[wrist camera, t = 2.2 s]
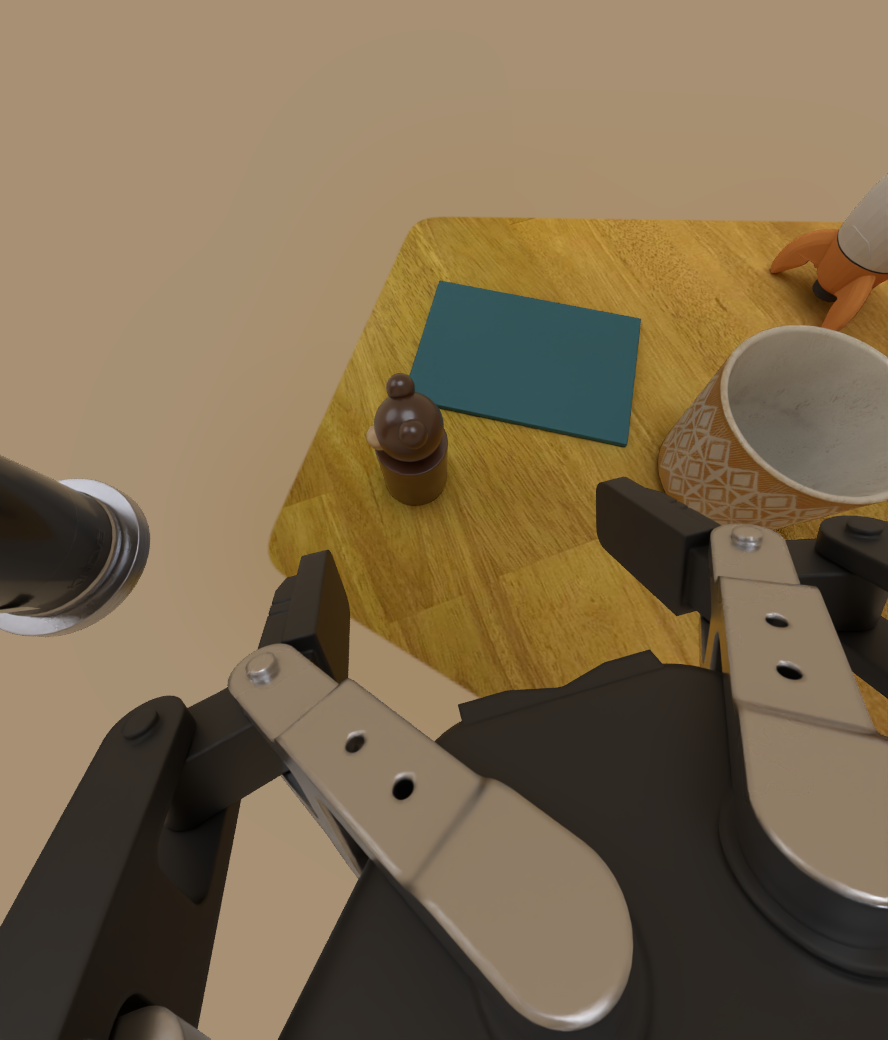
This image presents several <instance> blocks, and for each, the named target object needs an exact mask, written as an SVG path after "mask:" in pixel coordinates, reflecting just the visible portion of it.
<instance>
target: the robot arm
mask: <svg viewBox="0 0 888 1040" xmlns="http://www.w3.org/2000/svg"><path fill="white" fill-rule="evenodd" d="M596 528H597V535H598V539H599V541H600V543H601V545H602V547H603V548H604V549H605V550H606V551H607V552H608V553H609V554H610V555H611V556H612V557H614V558H615V559H616V560H617V561H618V562H619V563H620V564H621V565H622V566H623V567H624V568H625V569H626V570H628V571H629V572H630V573H631V574H632V575H633V576H634V577H635V578H636V579H637V580H638V581H639V582H640V583H642V584H643V585H644V586H645V587H646V588H647V589H648V590H649V591H650V592H651V593H652V594H653V595H654V596H656V597H657V598H658V599H659V600H660V601H661V602H662V603H663V604H664V605H665V606H666V607H667V608H668V609H670V610H671V611H672V612H673V613H674V614H675V615H676V616H679V615H683V614H686V613H690V612H693V611H698V612H699V613H700V618H699V654H700V667H697V666H691V665H683V664H662V663H661V662H660V661H659V659H658V658H657V657H656V656H655V655H654V654H653V653H652V652H651V650H646V651H643V652H639V653H636V654H632V655H629V656H625V657H622V658H619V659H615V660H612V661H608V662H605V663H603V664H601V665H599V666H597V667H596V668H594V669H592V670H591V671H589V672H587V673H585V674H584V675H582V676H580V677H579V678H577V679H575V680H574V681H572V682H570V683H568V684H567V685H565V686H562V687H558V688H543V689H526V690H510V691H504V692H500V693H497V694H493V695H490V696H486V697H483V698H479V699H476V700H473V701H469V702H465V703H462V704H459V705H458V707H459V711H460V715H461V719H462V721H461V722H459V723H457V724H456V725H454V726H453V727H451V728H450V729H448V730H447V731H446V732H444V733H443V734H442V735H441V736H440V737H439V738H438V739H437V740H436V741H433V740H431V739H430V738H429V737H427V736H426V735H425V734H423V733H422V732H421V731H420V730H418V729H417V728H415V727H414V726H413V725H412V724H410V723H409V722H408V721H406V720H405V719H404V718H402V717H401V716H400V715H398V714H397V713H396V712H395V711H393V710H392V709H390V708H389V707H388V706H387V705H385V704H384V703H383V702H381V701H380V700H379V699H378V698H376V697H375V696H374V695H372V694H371V693H370V692H368V691H367V690H366V689H364V688H363V687H362V686H360V685H359V684H358V683H356V682H355V681H354V680H351V679H349V678H348V663H349V632H350V609H349V603H348V599H347V595H346V592H345V589H344V587H343V584H342V581H341V578H340V575H339V573H338V570H337V567H336V564H335V562H334V559H333V556H332V554H331V552H330V551H329V550H325V551H321V552H317V553H313V554H309V555H305V556H302V557H301V561H300V565H299V569H298V573H297V575H296V576H292V577H288V578H286V579H285V580H284V582H283V583H282V584H281V585H280V586H279V587H278V589H277V590H276V591H275V595H274V598H273V601H272V606H271V608H270V611H269V616H268V617H267V621H266V624H265V627H264V630H263V633H262V637H261V640H260V643H259V647H258V650H256V651H254V652H253V653H251V654H249V655H248V656H247V657H245V658H244V659H243V660H242V661H241V662H240V663H239V664H238V665H237V666H236V667H235V668H234V670H233V671H232V673H231V675H230V677H229V679H228V687H227V688H226V689H224V690H222V691H220V692H218V693H217V694H215V695H212V696H210V697H208V698H206V699H205V700H203V701H201V702H199V703H197V704H195V705H193V706H191V707H189V708H187V707H186V706H185V704H184V703H183V701H182V700H181V699H180V698H178V697H175V696H162V697H159V698H155V699H153V700H150V701H148V702H146V703H144V704H142V705H140V706H138V707H137V708H135V709H134V710H132V711H131V712H129V713H128V714H127V715H125V716H124V717H123V718H122V719H121V720H119V721H118V722H117V723H116V724H115V725H114V726H113V727H112V729H111V730H110V731H109V733H108V734H107V735H106V737H105V738H104V740H103V742H102V744H101V745H100V747H99V749H98V751H97V752H96V754H95V756H94V758H93V760H92V762H91V763H90V765H89V767H88V769H87V771H86V772H85V774H84V776H83V778H82V780H81V782H80V783H79V785H78V787H77V789H76V791H75V792H74V794H73V796H72V798H71V800H70V802H69V803H68V805H67V807H66V809H65V810H64V812H63V814H62V816H61V818H60V820H59V821H58V823H57V825H56V827H55V829H54V830H53V832H52V834H51V836H50V838H49V839H48V841H47V843H46V845H45V847H44V849H43V850H42V852H41V854H40V856H39V858H38V859H37V861H36V863H35V865H34V867H33V868H32V870H31V872H30V874H29V876H28V878H27V879H26V881H25V883H24V885H23V887H22V889H21V890H20V892H19V894H18V896H17V898H16V899H15V901H14V903H13V905H12V907H11V908H10V910H9V912H8V914H7V916H6V918H5V919H4V921H3V923H2V925H1V926H0V1040H211V1039H210V1038H209V1037H207V1036H206V1035H204V1034H203V1033H201V1032H200V1031H199V1030H197V1029H198V1023H199V1018H200V1013H201V1007H202V1002H203V997H204V992H205V987H206V981H207V975H208V971H209V965H210V960H211V955H212V950H213V944H214V939H215V934H216V929H217V923H218V918H219V913H220V908H221V902H222V897H223V892H224V887H225V881H226V876H227V871H228V865H229V860H230V855H231V850H232V845H233V839H234V834H235V829H236V824H237V818H238V813H239V808H240V802H241V799H242V798H244V797H245V796H247V795H249V794H250V793H252V792H253V791H255V790H257V789H258V788H260V787H262V786H263V785H265V784H267V783H268V782H270V781H272V780H273V779H275V778H277V777H278V776H280V775H281V777H282V778H283V779H284V781H285V782H286V783H287V785H288V786H289V787H290V788H291V790H292V791H293V792H294V793H295V794H296V796H297V797H298V798H299V800H300V801H301V802H302V804H303V805H304V806H305V807H306V809H307V810H308V811H309V812H310V814H311V815H312V816H313V818H314V819H315V820H316V821H317V823H318V824H319V825H320V826H321V828H322V829H323V830H324V832H325V833H326V834H327V836H328V837H329V838H330V840H331V841H332V843H333V844H334V846H335V847H336V849H337V850H338V852H339V853H340V855H341V856H342V857H343V859H344V860H345V861H346V863H347V864H348V866H349V867H350V868H351V870H352V871H353V872H354V874H355V875H356V876H357V878H358V881H357V883H356V885H355V887H354V889H353V891H352V893H351V895H350V897H349V899H348V901H347V904H346V905H345V907H344V909H343V911H342V913H341V915H340V917H339V919H338V921H337V923H336V925H335V927H334V929H333V931H332V933H331V935H330V937H329V939H328V941H327V943H326V945H325V947H324V949H323V951H322V953H321V955H320V957H319V959H318V961H317V963H316V965H315V967H314V969H313V971H312V973H311V975H310V977H309V979H308V981H307V983H306V985H305V987H304V989H303V991H302V993H301V995H300V997H299V999H298V1001H297V1003H296V1004H295V1007H294V1008H293V1010H292V1012H291V1014H290V1017H289V1018H288V1020H287V1022H286V1024H285V1026H284V1028H283V1030H282V1032H281V1034H280V1036H279V1038H278V1040H888V737H886V736H884V735H881V734H879V733H878V731H877V730H876V729H875V727H874V725H873V723H872V721H871V718H870V716H869V713H868V710H867V708H866V705H865V703H864V700H863V698H862V695H861V693H860V690H859V688H858V685H857V683H856V680H855V678H854V675H853V673H852V672H854V673H855V674H856V675H857V676H859V677H860V678H861V679H863V680H864V681H865V682H867V683H868V684H869V685H871V686H872V687H873V688H874V689H876V690H877V691H878V692H880V693H881V694H882V695H884V696H885V697H886V698H888V620H886V619H885V618H883V617H882V616H881V613H882V611H883V608H884V606H885V603H886V601H887V598H888V522H886V521H882V520H878V519H874V518H868V517H861V516H836V517H831V518H828V519H826V520H824V521H823V522H821V524H820V527H819V531H818V535H817V539H801V540H784V538H783V537H782V536H781V535H780V534H778V533H777V532H775V531H773V530H771V529H768V528H765V527H762V526H758V525H753V524H744V523H734V524H726V525H720V524H719V523H717V522H715V521H713V520H711V519H710V518H708V517H706V516H704V515H703V514H701V513H699V512H697V511H695V510H694V509H692V508H688V506H687V505H685V504H683V503H681V502H677V500H676V499H674V498H672V497H671V496H669V495H667V494H665V493H663V492H659V491H656V490H652V489H648V488H644V487H643V486H641V485H639V484H637V483H636V482H634V481H632V480H631V479H629V478H627V477H621V478H617V479H613V480H609V481H605V482H601V483H599V484H598V485H597V488H596ZM120 547H121V529H120V525H119V522H118V519H117V517H116V515H115V514H114V512H113V511H112V509H111V508H110V507H109V506H108V505H107V504H105V503H104V502H103V501H101V500H99V499H98V498H96V497H93V496H91V495H89V494H87V493H84V492H81V491H77V490H75V489H72V488H70V487H68V486H66V485H64V484H62V483H60V482H57V481H55V480H54V479H51V478H49V477H47V476H45V475H43V474H40V473H38V472H36V471H34V470H31V469H30V468H28V467H25V466H23V465H21V464H19V463H17V462H14V461H12V460H10V459H8V458H6V457H4V456H1V455H0V613H8V614H11V615H16V616H26V617H45V616H51V615H55V614H59V613H62V612H64V611H67V610H69V609H71V608H73V607H75V606H77V605H78V604H80V603H82V602H83V601H85V600H86V599H87V598H89V597H90V596H91V595H92V594H93V593H94V592H95V591H97V590H98V588H99V587H100V586H101V585H102V584H103V583H104V582H105V580H106V579H107V578H108V576H109V575H110V573H111V571H112V569H113V568H114V566H115V563H116V561H117V558H118V555H119V552H120Z"/></svg>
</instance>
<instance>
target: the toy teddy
mask: <svg viewBox="0 0 888 1040" xmlns="http://www.w3.org/2000/svg"><path fill="white" fill-rule="evenodd" d="M386 389H387V393H388V395H389V397H388V398H387V399H385V400H384V401H383V403H382V404H381V405H380V407H379V408H378V410H377V412H376V415H375V419H374V425H372V426H371V427H370V428H369V429H368V431H367V441H368V443H369V445H370V446H371V447H372V448H374V449H375V452H376V455H377V458H378V461H379V464H380V467H381V471H382V474H383V477H384V480H385V483H386V486H387V489H388V491H389V492H390V494H391V495H392V496H393V497H394V498H395V499H397V500H398V501H400V502H402V503H404V504H408V505H423V504H426V503H429V502H431V501H433V500H434V499H435V498H437V497H438V496H439V495H440V494H441V492H442V491H443V489H444V487H445V484H446V478H447V451H448V439H447V434H446V432H445V429H444V423H443V418H442V415H441V412H440V410H439V408H438V407H437V405H436V404H435V403H434V402H433V401H432V400H431V399H430V398H429V397H427V396H426V395H424V394H422V393H419V392H415V384H414V382H413V380H412V379H411V378H410V377H409V376H408V375H406V374H403V373H397V374H394V375H393V376H391V377H390V378H389V380H388V382H387V386H386Z"/></svg>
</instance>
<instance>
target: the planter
mask: <svg viewBox="0 0 888 1040" xmlns="http://www.w3.org/2000/svg"><path fill="white" fill-rule="evenodd" d="M658 470H659V476H660V480H661V483H662V486H663V488H664V490H665V492H666V494H667V495H669V496H671V497H672V498H674V499H676V500H677V502H681V503H683V504H685V505H687V506H688V508H692V509H694V510H695V511H697V512H699V513H701V514H703V515H704V516H706V517H708V518H710V519H711V520H713V521H715V522H717V523H719V524H720V525H726V524H734V523H744V524H753V525H758V526H762V527H765V528H768V529H771V530H775V529H779V528H783V527H787V526H790V525H794V524H798V523H802V522H806V521H810V520H813V519H817V518H821V517H825V516H829V515H832V514H836V513H840V512H844V511H848V510H852V509H855V508H859V507H863V506H867V505H871V504H875V503H878V502H882V501H886V500H888V357H886V356H885V355H884V354H882V353H881V352H879V351H878V350H876V349H875V348H873V347H871V346H870V345H868V344H866V343H864V342H862V341H860V340H858V339H856V338H854V337H852V336H849V335H847V334H844V333H841V332H838V331H835V330H831V329H827V328H822V327H816V326H808V325H788V326H780V327H775V328H771V329H767V330H764V331H762V332H759V333H757V334H755V335H753V336H751V337H749V338H748V339H746V340H745V341H744V342H742V343H741V344H740V345H739V346H738V347H737V348H736V349H735V350H734V351H733V353H732V354H731V355H730V356H729V358H728V359H727V360H726V361H725V363H724V364H723V365H722V366H721V368H720V369H719V370H718V371H717V373H716V374H715V375H714V377H713V378H712V379H711V380H710V382H709V383H708V384H707V385H706V387H705V388H704V389H703V390H702V392H701V393H700V394H699V395H698V397H697V398H696V399H695V400H694V402H693V403H692V404H691V406H690V407H689V408H688V409H687V411H686V412H685V413H684V414H683V416H682V417H681V418H680V419H679V421H678V422H677V423H676V424H675V426H674V427H673V428H672V430H671V431H670V432H669V433H668V435H667V436H666V438H665V440H664V442H663V444H662V446H661V449H660V453H659V459H658Z"/></svg>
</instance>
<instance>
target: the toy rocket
mask: <svg viewBox="0 0 888 1040" xmlns="http://www.w3.org/2000/svg"><path fill="white" fill-rule="evenodd" d="M808 261H811V262H813V263H814V267H815V268H817V278H818V279H817V280H816V281H815V283H814V284H813V292H814V293H815V295H816V296H817V297H818V298H820V299H822V300H824V301H827V302H835V303H834V304H833V305H832V307H831V308H830V310H829V312H828V314H827V316H826V318H825V320H824V322H823V324H822V326H821V327H822V328H827V329H831V330H835V331H838V332H839V331H840V330H841V329H842V328H843V327H844V326H846V325H847V324H848V323H849V321H850V320H851V319H852V318H853V317H854V316H855V315H856V314H857V312H858V311H859V310H860V308H861V307H862V305H863V304H864V302H865V301H866V299H867V297H868V295H869V293H870V291H871V289H873V288H874V287H876V286H877V285H879V284H880V283H882V282H884V281H885V280H887V279H888V174H886V175H885V176H884V177H883V178H882V179H881V180H880V181H879V182H878V183H877V184H876V185H875V186H874V187H873V188H872V189H871V190H870V191H869V192H868V194H867V195H866V196H865V197H864V198H863V199H862V200H861V201H860V202H859V204H858V205H857V206H856V207H855V209H854V210H853V211H852V212H851V214H850V215H849V216H848V218H847V219H846V220H845V222H844V223H843V225H842V226H841V228H840V229H839V230H836V229H823V230H817V231H813V232H810V233H807V234H804V235H802V236H800V237H798V238H796V239H795V240H793V241H792V242H791V243H789V244H788V245H787V246H786V247H785V248H784V249H783V250H782V251H781V252H780V253H779V254H778V256H777V257H776V258H775V260H774V261H773V263H772V266H771V269H770V271H771V272H772V273H778V272H781V271H785V270H789V269H792V268H796V267H800V266H802V265H804V264H806V263H807V262H808Z"/></svg>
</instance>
